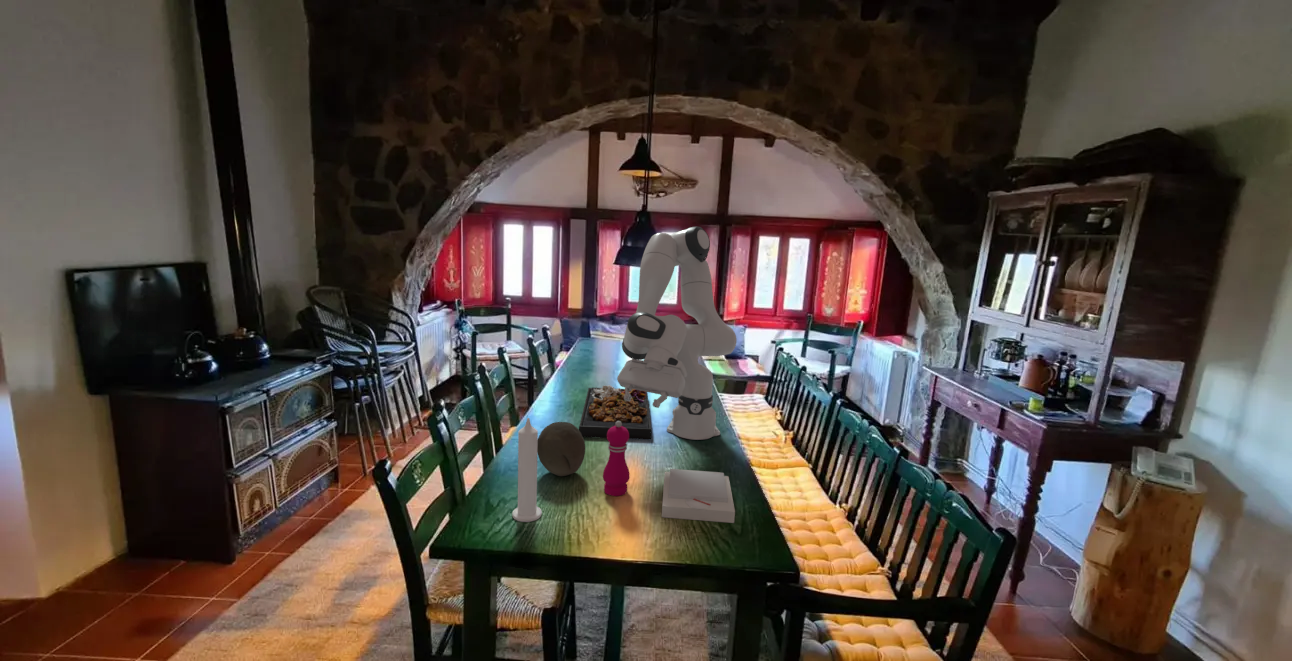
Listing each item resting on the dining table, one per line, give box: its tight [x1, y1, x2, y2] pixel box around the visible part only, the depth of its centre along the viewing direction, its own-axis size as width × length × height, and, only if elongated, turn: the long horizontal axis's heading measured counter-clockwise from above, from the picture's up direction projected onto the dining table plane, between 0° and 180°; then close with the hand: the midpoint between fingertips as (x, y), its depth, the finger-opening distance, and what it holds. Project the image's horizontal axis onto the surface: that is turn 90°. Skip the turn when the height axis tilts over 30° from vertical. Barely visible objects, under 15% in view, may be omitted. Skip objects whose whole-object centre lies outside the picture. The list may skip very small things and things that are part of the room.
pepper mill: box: [602, 421, 631, 497], centre depth 149 cm, size 7×7×20 cm
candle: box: [511, 417, 543, 523], centre depth 134 cm, size 7×7×25 cm
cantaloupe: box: [537, 421, 586, 477], centre depth 159 cm, size 14×14×15 cm
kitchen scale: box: [661, 468, 736, 524], centre depth 148 cm, size 20×18×4 cm
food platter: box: [578, 384, 653, 441], centre depth 210 cm, size 45×25×10 cm, turn 2°
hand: (640, 403), depth 158 cm, fingers open, 8 cm apart
